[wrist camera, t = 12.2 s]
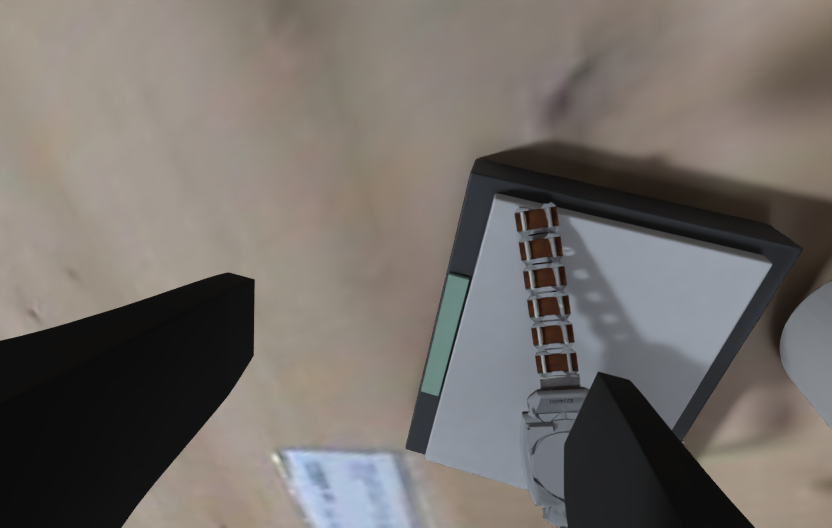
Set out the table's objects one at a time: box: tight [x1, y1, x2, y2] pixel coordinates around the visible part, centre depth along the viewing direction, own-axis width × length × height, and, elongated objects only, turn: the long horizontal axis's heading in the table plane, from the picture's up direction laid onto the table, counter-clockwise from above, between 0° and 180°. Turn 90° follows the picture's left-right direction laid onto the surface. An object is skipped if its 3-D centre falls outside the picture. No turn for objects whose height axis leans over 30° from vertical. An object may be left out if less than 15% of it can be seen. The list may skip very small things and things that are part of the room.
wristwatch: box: [515, 202, 589, 528], centre depth 17 cm, size 4×14×5 cm, turn 14°
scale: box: [406, 159, 802, 490], centre depth 19 cm, size 14×11×3 cm
